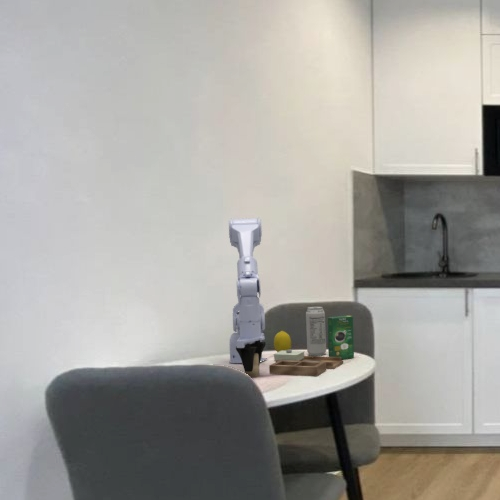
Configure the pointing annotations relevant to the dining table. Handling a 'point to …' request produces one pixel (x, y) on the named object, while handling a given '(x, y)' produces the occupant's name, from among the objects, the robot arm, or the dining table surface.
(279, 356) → the lid
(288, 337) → the lemon
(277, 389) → the dining table surface
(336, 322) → the coffee box
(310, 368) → the socket board
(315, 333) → the energy drink can
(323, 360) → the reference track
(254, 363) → the oak peg
